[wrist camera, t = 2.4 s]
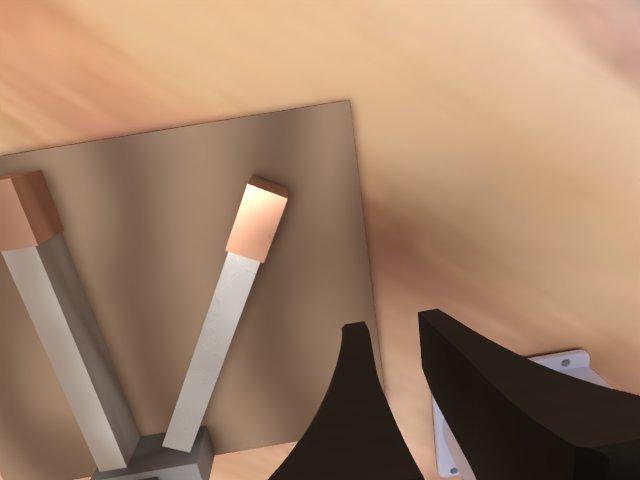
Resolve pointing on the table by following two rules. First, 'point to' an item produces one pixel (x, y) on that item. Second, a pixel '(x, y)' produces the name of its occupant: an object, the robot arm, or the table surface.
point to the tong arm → (227, 305)
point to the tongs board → (172, 292)
